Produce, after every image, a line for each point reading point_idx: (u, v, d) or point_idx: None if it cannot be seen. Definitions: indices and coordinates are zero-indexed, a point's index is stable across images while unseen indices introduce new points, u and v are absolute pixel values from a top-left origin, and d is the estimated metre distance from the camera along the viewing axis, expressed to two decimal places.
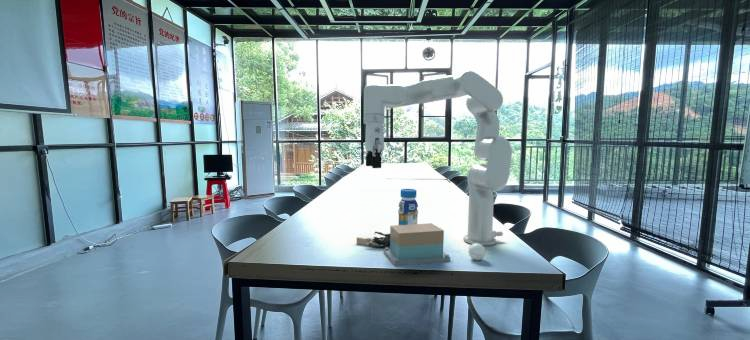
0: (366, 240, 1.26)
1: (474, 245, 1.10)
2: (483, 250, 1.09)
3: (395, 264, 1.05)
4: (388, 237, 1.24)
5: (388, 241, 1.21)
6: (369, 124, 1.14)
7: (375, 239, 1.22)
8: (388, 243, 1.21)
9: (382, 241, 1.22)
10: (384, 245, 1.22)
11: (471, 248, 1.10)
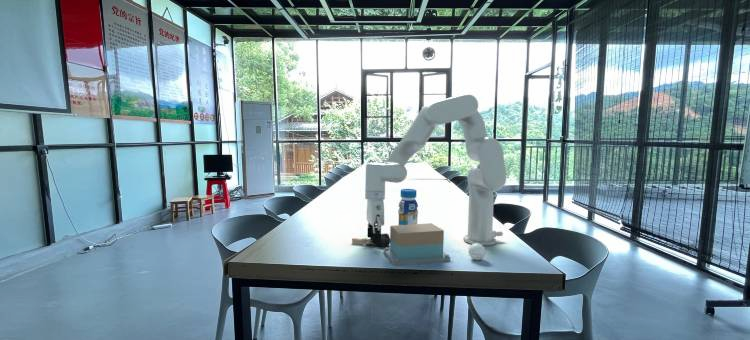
0: (362, 241, 1.26)
1: (474, 245, 1.10)
2: (483, 250, 1.09)
3: (395, 264, 1.05)
4: (384, 237, 1.25)
5: (385, 241, 1.23)
6: (370, 201, 1.20)
7: None
8: (385, 243, 1.22)
9: None
10: (381, 245, 1.23)
11: (471, 248, 1.10)
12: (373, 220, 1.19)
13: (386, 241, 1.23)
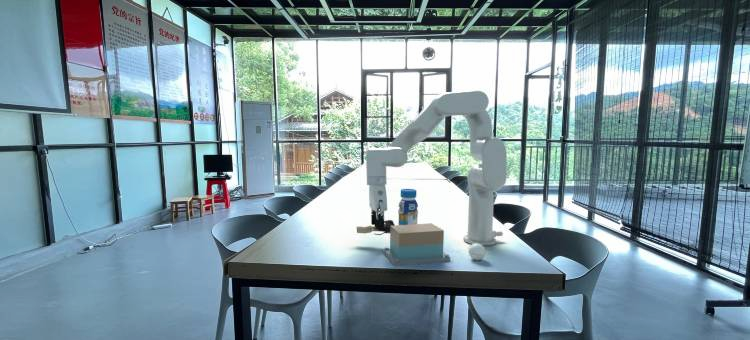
0: (367, 228, 1.25)
1: (474, 245, 1.10)
2: (483, 250, 1.09)
3: (395, 264, 1.05)
4: (389, 223, 1.25)
5: None
6: (372, 186, 1.20)
7: None
8: None
9: (384, 227, 1.23)
10: (386, 231, 1.22)
11: (471, 248, 1.10)
12: (376, 205, 1.19)
13: None
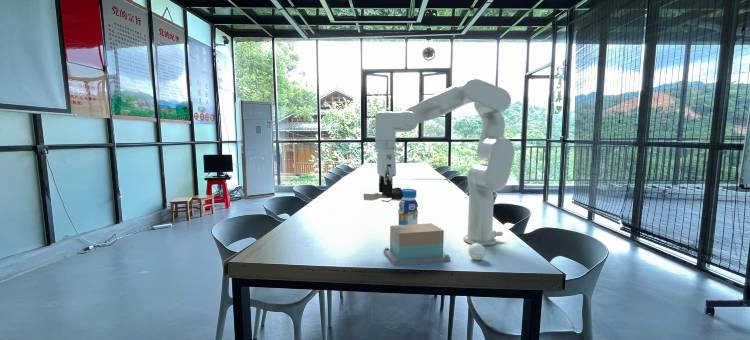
0: (374, 195, 1.22)
1: (474, 245, 1.10)
2: (483, 250, 1.09)
3: (395, 264, 1.05)
4: (397, 190, 1.21)
5: (398, 193, 1.18)
6: (381, 150, 1.16)
7: None
8: (398, 195, 1.18)
9: (392, 194, 1.19)
10: (394, 198, 1.19)
11: (471, 248, 1.10)
12: (384, 170, 1.15)
13: (399, 194, 1.18)
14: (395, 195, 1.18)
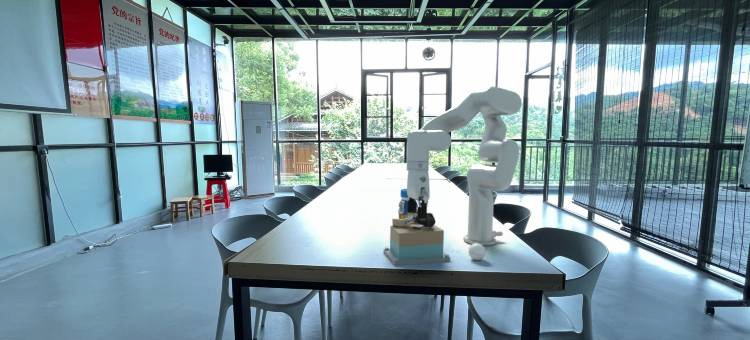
0: (404, 221, 1.14)
1: (474, 245, 1.10)
2: (483, 250, 1.09)
3: (395, 264, 1.05)
4: (429, 216, 1.13)
5: (431, 220, 1.11)
6: (414, 172, 1.08)
7: (417, 219, 1.11)
8: (431, 222, 1.10)
9: (424, 221, 1.11)
10: (427, 225, 1.11)
11: (471, 248, 1.10)
12: (418, 193, 1.07)
13: (432, 220, 1.11)
14: (428, 222, 1.11)
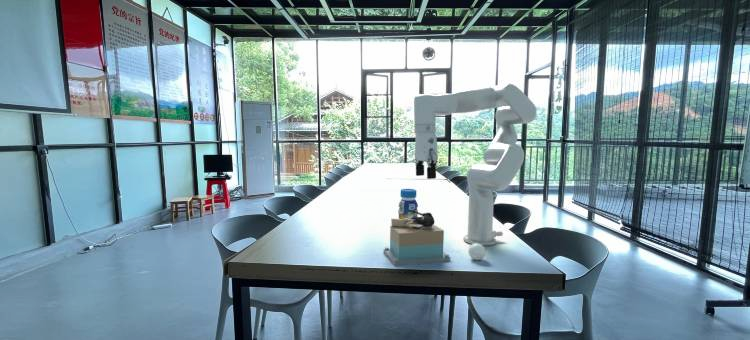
0: (403, 221, 1.14)
1: (474, 245, 1.10)
2: (483, 250, 1.09)
3: (395, 264, 1.05)
4: (428, 216, 1.13)
5: (430, 220, 1.11)
6: (422, 134, 1.13)
7: (416, 219, 1.11)
8: (431, 222, 1.11)
9: (423, 220, 1.11)
10: (426, 225, 1.11)
11: (471, 248, 1.10)
12: (427, 154, 1.12)
13: (431, 220, 1.11)
14: (427, 222, 1.11)
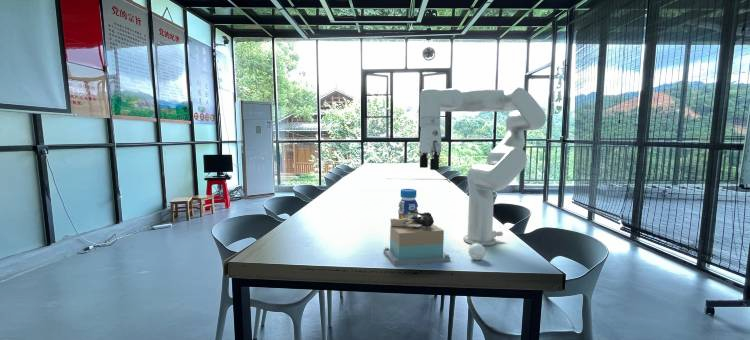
0: (402, 221, 1.14)
1: (474, 245, 1.10)
2: (483, 250, 1.09)
3: (395, 264, 1.05)
4: (427, 216, 1.14)
5: (429, 220, 1.11)
6: (427, 127, 1.17)
7: (415, 218, 1.11)
8: (430, 222, 1.11)
9: (423, 220, 1.12)
10: (425, 224, 1.11)
11: (471, 248, 1.10)
12: (430, 146, 1.16)
13: (431, 220, 1.11)
14: (426, 222, 1.11)
